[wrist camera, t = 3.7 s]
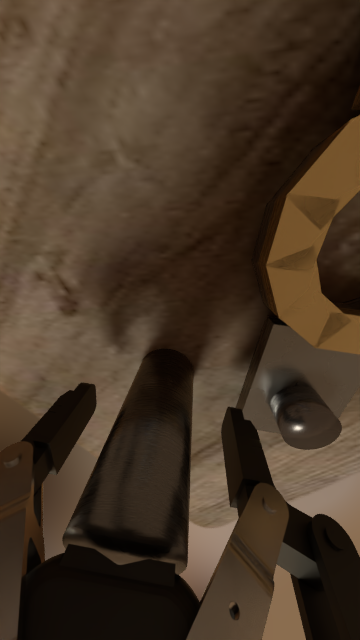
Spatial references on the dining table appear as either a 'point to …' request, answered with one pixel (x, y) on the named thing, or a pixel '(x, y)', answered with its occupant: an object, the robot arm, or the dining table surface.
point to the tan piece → (305, 303)
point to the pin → (143, 471)
